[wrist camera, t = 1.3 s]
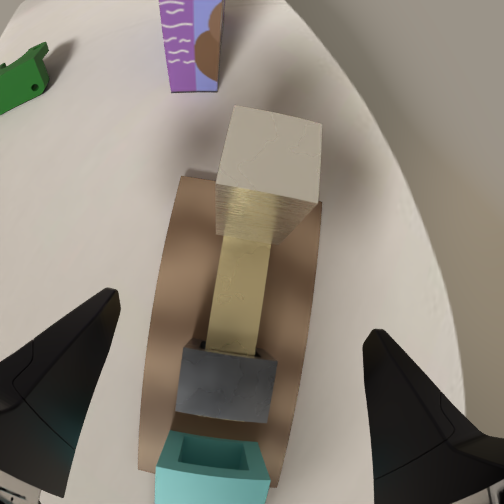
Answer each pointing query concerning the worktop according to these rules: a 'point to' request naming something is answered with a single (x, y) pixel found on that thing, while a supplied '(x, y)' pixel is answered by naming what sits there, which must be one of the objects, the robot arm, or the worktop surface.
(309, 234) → the base board
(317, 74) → the worktop surface
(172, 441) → the socket block
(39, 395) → the robot arm
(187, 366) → the sleeve
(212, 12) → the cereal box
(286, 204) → the white-capped post
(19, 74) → the clamp
